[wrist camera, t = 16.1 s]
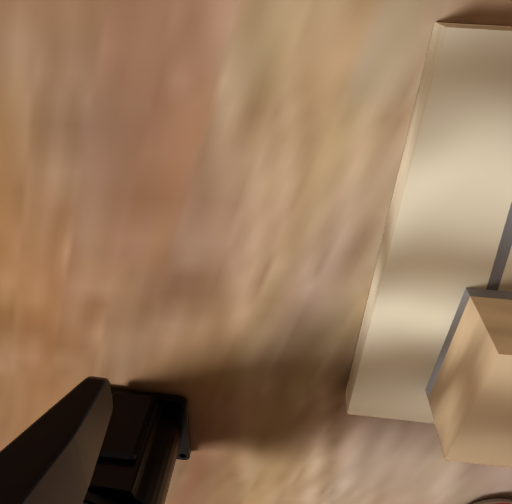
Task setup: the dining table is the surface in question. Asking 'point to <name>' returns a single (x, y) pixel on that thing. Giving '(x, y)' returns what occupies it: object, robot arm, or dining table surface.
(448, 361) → the block
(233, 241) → the dining table surface
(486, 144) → the board
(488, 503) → the soda can
